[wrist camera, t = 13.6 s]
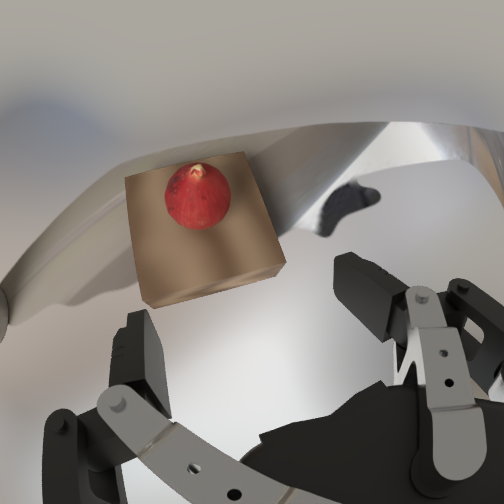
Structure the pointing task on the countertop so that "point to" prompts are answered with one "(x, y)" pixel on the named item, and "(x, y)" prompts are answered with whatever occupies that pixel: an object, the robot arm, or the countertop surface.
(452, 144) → the countertop surface
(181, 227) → the walnut base
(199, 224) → the onion
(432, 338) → the robot arm
